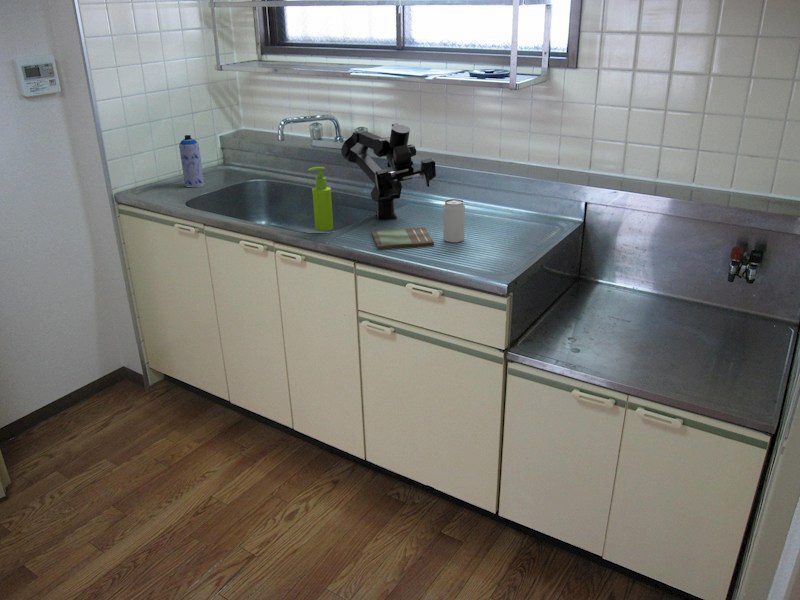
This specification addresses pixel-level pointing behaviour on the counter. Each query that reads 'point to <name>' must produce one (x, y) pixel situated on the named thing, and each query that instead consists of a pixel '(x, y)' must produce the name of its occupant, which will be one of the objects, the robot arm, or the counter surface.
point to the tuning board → (402, 238)
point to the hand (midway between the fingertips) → (414, 189)
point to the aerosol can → (191, 162)
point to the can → (454, 221)
